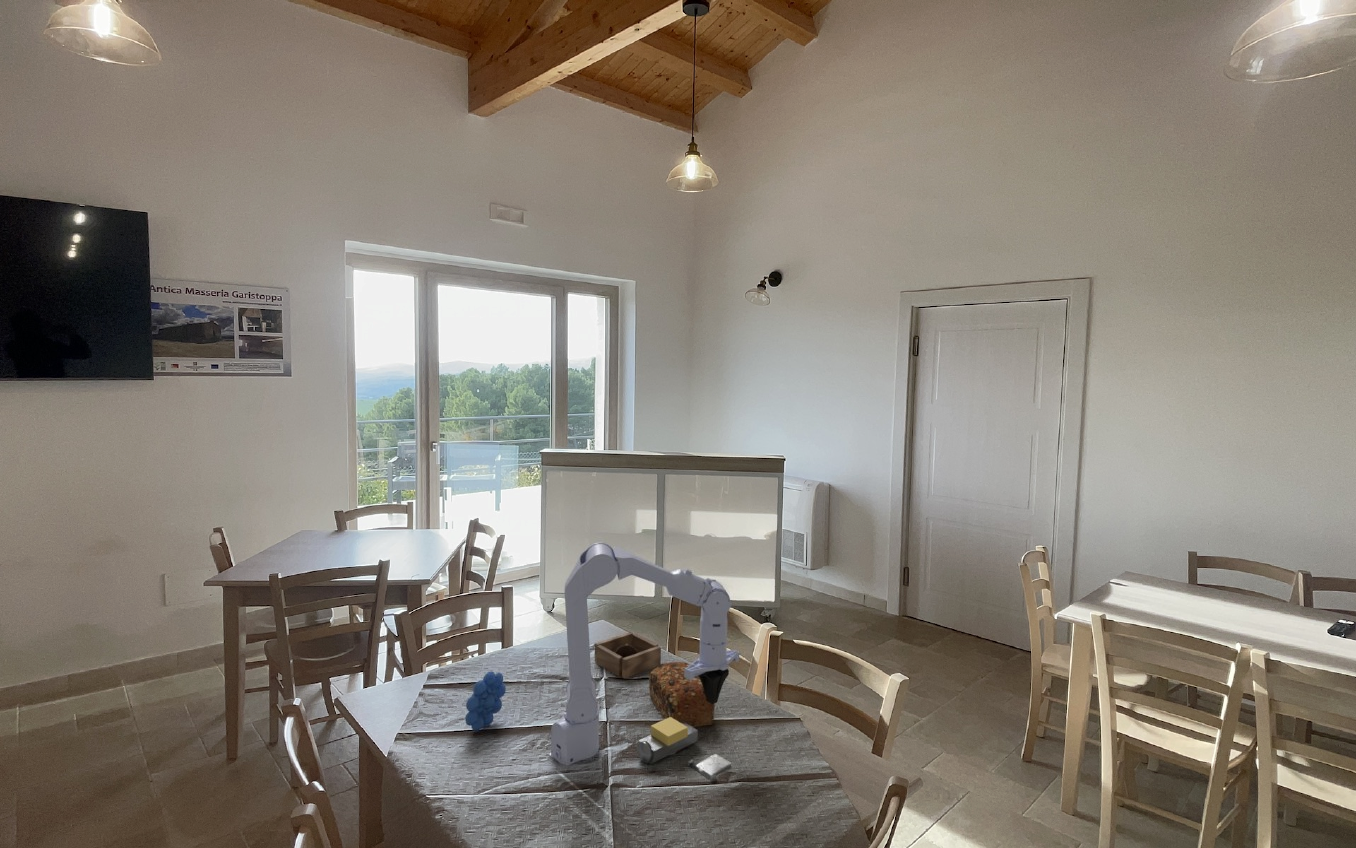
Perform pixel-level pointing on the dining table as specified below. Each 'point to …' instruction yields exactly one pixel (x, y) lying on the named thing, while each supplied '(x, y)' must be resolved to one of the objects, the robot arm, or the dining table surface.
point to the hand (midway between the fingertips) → (711, 701)
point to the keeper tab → (711, 766)
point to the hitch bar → (666, 747)
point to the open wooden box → (632, 664)
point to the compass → (626, 650)
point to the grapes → (485, 701)
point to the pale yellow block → (669, 731)
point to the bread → (679, 695)
